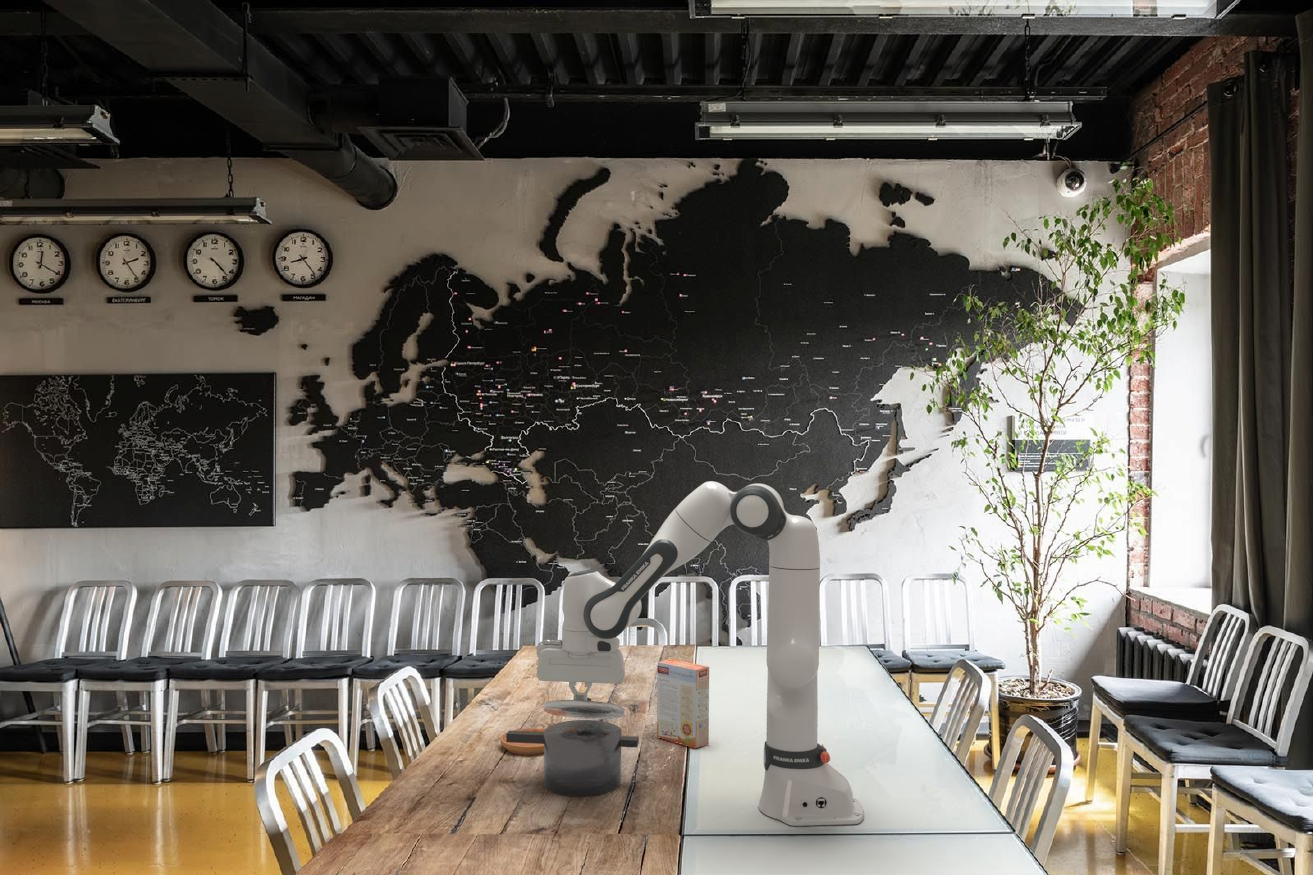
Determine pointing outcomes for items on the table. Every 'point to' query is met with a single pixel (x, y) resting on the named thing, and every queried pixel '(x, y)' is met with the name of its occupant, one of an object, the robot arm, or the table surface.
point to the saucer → (523, 744)
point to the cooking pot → (579, 756)
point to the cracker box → (683, 702)
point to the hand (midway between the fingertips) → (580, 701)
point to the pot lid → (584, 709)
